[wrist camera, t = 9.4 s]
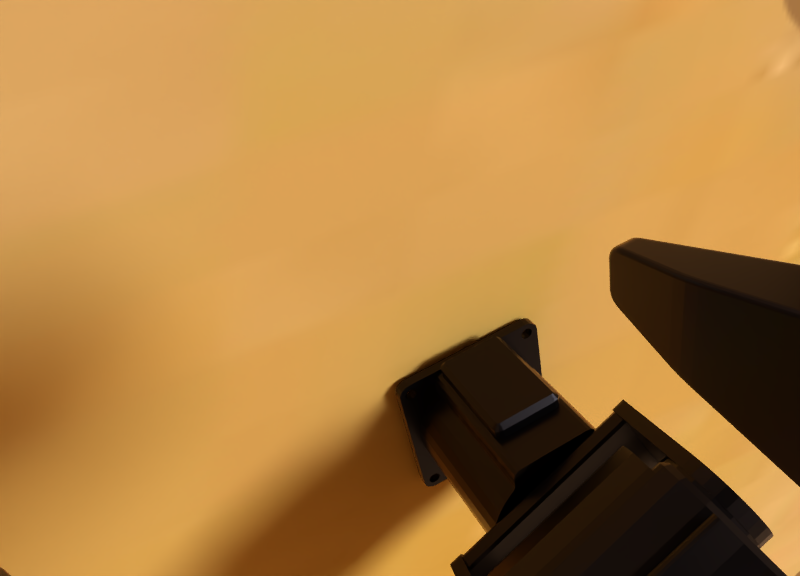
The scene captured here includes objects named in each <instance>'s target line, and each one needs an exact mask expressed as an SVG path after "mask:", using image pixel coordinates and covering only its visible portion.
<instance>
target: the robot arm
mask: <svg viewBox="0 0 800 576" xmlns="http://www.w3.org/2000/svg"><path fill="white" fill-rule="evenodd" d="M609 269H610V292H611V296H612V298H613V301H614V302H615V304H616V305H617V307H618V308H619V309H620V310H621V311H622V312H623V313H624V315H625V316H626V317H627V318H628V319H629V320H630V321H631V323H632V324H633V325H634V326H635V327H636V328H637V329H638V330H639V332H640V333H641V334H642V335H643V336H644V337H645V338H646V340H647V341H648V342H649V343H650V344H651V345H652V346H653V348H654V349H655V350H656V351H657V352H658V353H659V354H660V355H661V357H662V358H663V359H664V360H665V361H666V362H667V363H668V365H669V366H670V367H671V368H672V369H673V370H674V371H675V372H676V373H677V374H678V375H679V376H680V377H681V378H682V379H683V380H684V381H685V382H686V383H687V384H688V385H689V386H690V387H691V388H692V389H693V390H695V391H696V392H697V393H698V394H699V395H700V396H701V397H702V398H703V399H704V400H705V401H707V402H708V403H709V404H710V405H711V406H712V407H713V408H714V409H715V410H716V411H717V412H719V413H720V414H721V415H722V416H723V417H724V418H725V419H726V420H727V421H728V422H729V423H731V424H732V425H733V426H734V427H735V428H736V429H737V430H738V431H739V432H740V433H741V434H743V435H744V436H745V437H746V438H747V439H748V440H749V441H750V442H751V443H752V444H753V445H755V446H756V447H757V448H758V449H759V450H760V451H761V452H762V453H763V454H764V455H765V456H767V457H768V458H769V459H770V460H771V461H772V462H773V463H774V464H775V465H776V466H777V467H779V468H780V469H781V470H782V471H783V472H784V473H785V474H786V475H787V476H788V477H789V478H791V479H792V480H793V481H794V482H795V483H796V484H797V485H798V486H799V487H800V265H797V264H791V263H785V262H779V261H773V260H767V259H761V258H755V257H750V256H744V255H738V254H732V253H726V252H720V251H714V250H708V249H702V248H696V247H690V246H684V245H678V244H673V243H667V242H661V241H655V240H649V239H643V238H632V239H629V240H627V241H626V242H624V243H622V244H620V245H618V246H616V247H614V248H613V249H612V250H611V252H610V255H609ZM524 330H525V331H524ZM523 331H524V332H523ZM409 390H411V391H410V392H408V391H409ZM407 392H408V393H407ZM396 396H397V400H398V403H399V406H400V410H401V413H402V416H403V420H404V423H405V426H406V430H407V433H408V436H409V440H410V443H411V446H412V450H413V453H414V456H415V460H416V463H417V466H418V470H419V473H420V476H421V478H422V480H423V481H424V483H425V484H426V486H434V485H437V484H438V483H440V482H442V481H444V480H445V479H448V480H449V481H450V483H451V484H452V486H453V487H454V488H455V490H456V491H457V493H458V494H459V495H460V497H461V498H462V499H463V501H464V502H465V504H466V505H467V506H468V508H469V509H470V511H471V512H472V513H473V515H474V516H475V518H476V519H477V520H478V522H479V523H480V525H481V526H482V527H483V529H484V530H485V532H486V534H485V535H484V536H483V537H482V538H481V539H480V540H479V541H478V542H477V543H476V544H475V545H474V546H473V547H472V548H471V549H469V550H468V551H467V552H466V553H465V554H464V555H462V554H461V555H459V556H458V557H457V558H456V559H455V560H454V561H453V562H452V563H451V564H450V565H451V567H452V570H453V572H454V574H455V576H787V575H786V574H785V573H784V572H783V571H782V570H781V569H780V568H779V567H778V566H777V565H776V564H774V563H773V562H772V561H771V560H770V559H769V558H768V557H767V556H766V555H765V554H764V553H763V552H762V551H761V550H760V548H761V547H762V546H763V545H764V544H765V543H766V542H767V541H768V540H770V539H771V538H772V537H773V534H772V532H771V531H770V529H769V528H768V527H767V525H766V524H765V523H764V522H763V521H762V520H761V518H760V517H759V516H758V515H757V514H756V513H755V512H754V511H753V510H752V509H751V508H750V507H749V506H748V505H747V504H746V503H745V502H744V501H743V500H742V499H741V498H740V497H739V496H738V495H737V494H736V493H735V492H734V491H733V490H732V489H731V488H730V487H729V486H728V485H727V484H726V483H724V482H723V481H722V480H721V479H720V478H719V477H718V476H717V475H716V474H715V473H713V472H712V471H711V470H710V469H709V468H708V467H707V466H705V465H704V464H703V463H702V462H701V461H700V460H698V459H697V458H696V457H695V456H693V455H692V454H691V453H690V452H688V451H687V450H686V449H685V448H683V447H682V446H681V445H680V444H678V443H677V442H676V441H675V440H673V439H672V438H671V437H670V436H668V435H667V434H666V433H665V432H663V431H662V430H661V429H659V428H658V427H657V426H656V425H654V424H653V423H652V422H651V421H649V420H648V419H647V418H646V417H644V416H643V415H642V414H641V413H639V412H638V411H637V410H636V409H634V408H633V407H632V406H631V405H629V404H628V403H627V402H625V401H624V400H622V401H621V402H620V403H619V404H618V405H617V406H616V407H615V408H614V409H613V411H614V412H613V413H612V414H611V415H610V416H609V417H608V418H607V419H606V420H605V421H604V422H603V423H602V424H601V425H600V426H599V427H597V428H596V429H595V428H594V427H593V426H592V425H591V424H590V423H589V422H588V421H587V420H586V419H585V418H584V417H583V416H582V415H581V414H580V413H579V412H578V411H577V410H576V409H575V408H574V407H573V406H572V405H571V404H570V403H568V402H567V401H566V400H565V399H564V398H563V397H562V396H561V395H560V394H559V393H558V392H557V391H556V390H555V389H554V388H553V387H552V386H551V385H550V384H549V383H548V382H547V381H546V380H545V379H544V378H543V377H542V373H541V364H540V355H539V345H538V336H537V328H536V325H535V324H533V323H532V322H531V321H530V320H529V319H525V318H524V319H521V320H519V321H517V322H515V323H513V324H511V325H509V326H507V327H505V328H503V329H501V330H499V331H497V332H495V333H494V334H492V335H490V336H488V337H486V338H484V339H482V340H480V341H478V342H476V343H474V344H472V345H470V346H469V347H467V348H465V349H463V350H461V351H459V352H457V353H455V354H453V355H451V356H449V357H447V358H445V359H444V360H442V361H440V362H438V363H436V364H434V365H432V366H430V367H428V368H426V369H424V370H422V371H420V372H418V373H417V374H415V375H413V376H411V377H409V378H407V379H405V380H403V381H402V382H401V383H400V384H399V385H398V386H397V388H396ZM0 576H11V575H9V574H8V573H7V572H6V571H5V570H4V569H2V568H1V567H0Z"/></svg>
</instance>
